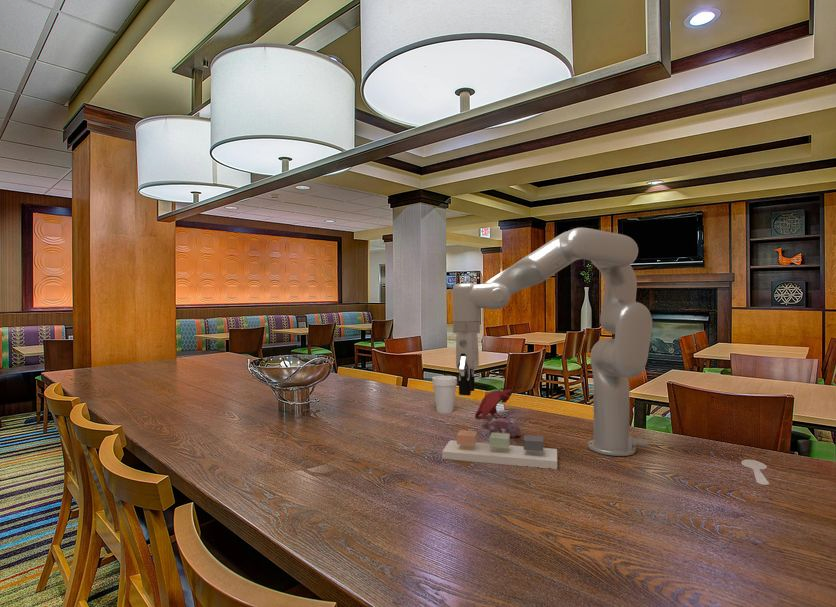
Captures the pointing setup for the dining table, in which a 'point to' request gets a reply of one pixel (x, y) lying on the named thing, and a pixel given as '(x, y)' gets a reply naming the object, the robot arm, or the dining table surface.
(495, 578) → the dining table surface
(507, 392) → the decorative bird sculpture
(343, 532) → the dining table surface
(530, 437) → the charcoal key
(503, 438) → the sage key
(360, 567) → the dining table surface
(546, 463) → the keypad base
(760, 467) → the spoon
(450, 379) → the foam cup
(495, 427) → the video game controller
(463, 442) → the terracotta key
